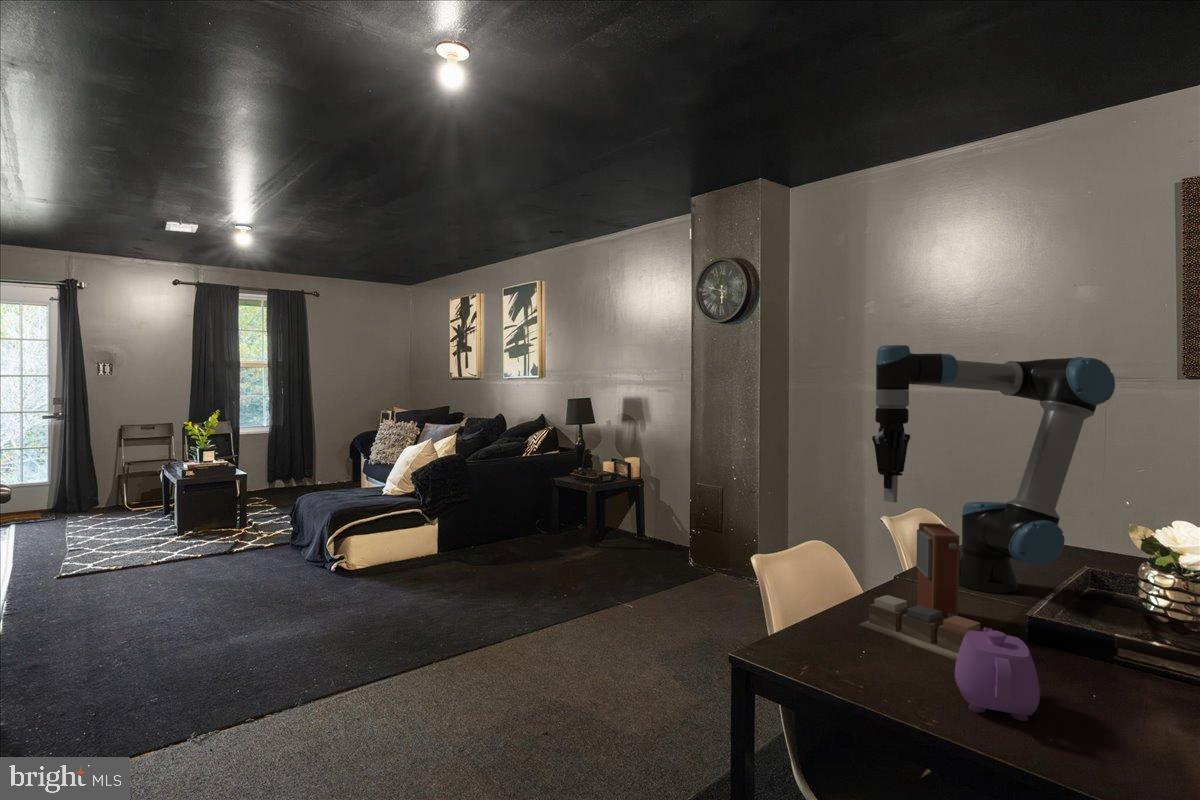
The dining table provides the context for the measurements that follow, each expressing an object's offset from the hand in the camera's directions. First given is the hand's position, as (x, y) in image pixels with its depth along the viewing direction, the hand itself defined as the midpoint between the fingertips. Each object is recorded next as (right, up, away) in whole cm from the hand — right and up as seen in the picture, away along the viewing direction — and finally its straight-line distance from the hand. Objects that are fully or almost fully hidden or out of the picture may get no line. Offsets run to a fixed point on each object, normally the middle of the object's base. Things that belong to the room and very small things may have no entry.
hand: (890, 501), depth 161 cm
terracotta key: (+3, -25, -26) cm, 36 cm away
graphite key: (-1, -25, -19) cm, 32 cm away
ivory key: (-6, -25, -13) cm, 28 cm away
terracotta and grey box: (+8, -27, -7) cm, 29 cm away
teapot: (-4, -28, -48) cm, 56 cm away
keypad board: (-1, -27, -19) cm, 33 cm away
